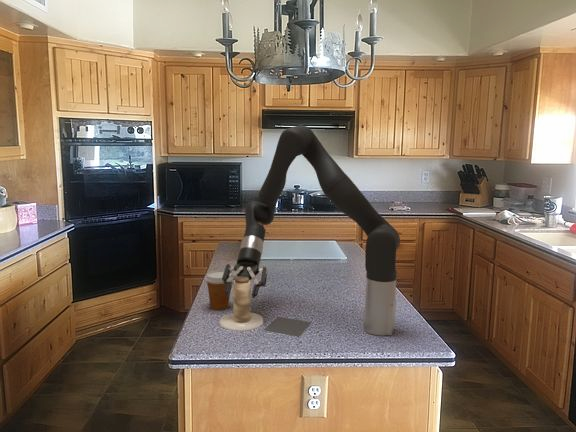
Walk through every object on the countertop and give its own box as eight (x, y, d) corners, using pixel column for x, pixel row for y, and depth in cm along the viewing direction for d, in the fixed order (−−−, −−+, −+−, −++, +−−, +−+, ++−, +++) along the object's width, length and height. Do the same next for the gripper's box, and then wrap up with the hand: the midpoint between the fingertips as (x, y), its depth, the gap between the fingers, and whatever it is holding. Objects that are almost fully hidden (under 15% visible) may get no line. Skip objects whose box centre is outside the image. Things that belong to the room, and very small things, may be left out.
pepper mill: (253, 318, 154) (253, 277, 151) (245, 324, 149) (245, 281, 146) (238, 315, 156) (238, 274, 153) (230, 321, 151) (230, 279, 148)
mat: (311, 323, 153) (311, 322, 153) (299, 338, 142) (299, 336, 142) (278, 318, 157) (278, 316, 157) (263, 331, 146) (263, 330, 146)
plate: (270, 319, 156) (270, 315, 156) (251, 335, 143) (251, 331, 143) (232, 312, 161) (232, 309, 161) (211, 327, 148) (211, 324, 148)
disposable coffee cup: (203, 303, 169) (202, 271, 167) (229, 300, 173) (229, 269, 171) (209, 313, 160) (208, 279, 158) (236, 309, 164) (236, 276, 162)
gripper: (227, 245, 157) (216, 288, 148) (269, 247, 154) (259, 292, 145) (233, 256, 163) (222, 299, 154) (272, 259, 160) (264, 302, 151)
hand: (240, 295), depth 149 cm, fingers open, 8 cm apart
